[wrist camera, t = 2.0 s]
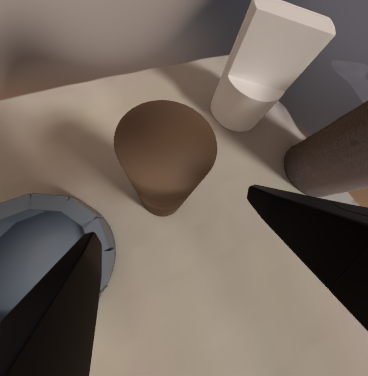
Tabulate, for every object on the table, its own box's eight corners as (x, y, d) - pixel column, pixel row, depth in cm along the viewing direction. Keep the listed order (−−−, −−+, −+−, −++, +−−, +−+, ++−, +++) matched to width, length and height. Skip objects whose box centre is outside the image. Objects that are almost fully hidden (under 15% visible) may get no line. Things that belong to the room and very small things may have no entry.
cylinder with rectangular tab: (257, 97, 27) (326, 2, 16) (258, 136, 25) (344, 56, 13) (212, 85, 26) (252, -25, 15) (208, 125, 23) (255, 27, 12)
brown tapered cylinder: (180, 217, 18) (217, 195, 7) (140, 214, 18) (102, 183, 6) (182, 181, 20) (216, 109, 8) (146, 177, 19) (124, 92, 7)
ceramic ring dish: (100, 337, 14) (87, 362, 11) (-63, 343, 12) (-126, 375, 9) (125, 205, 18) (119, 200, 15) (4, 195, 16) (-28, 188, 13)
